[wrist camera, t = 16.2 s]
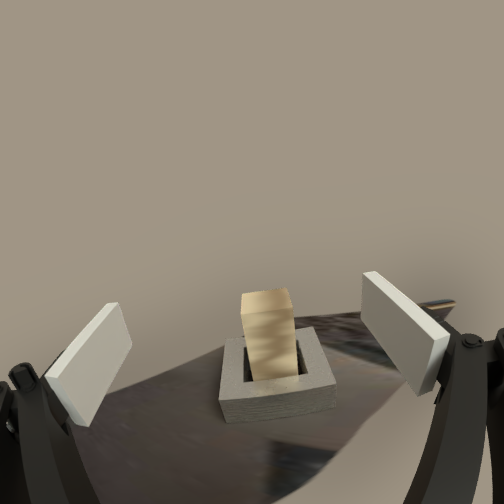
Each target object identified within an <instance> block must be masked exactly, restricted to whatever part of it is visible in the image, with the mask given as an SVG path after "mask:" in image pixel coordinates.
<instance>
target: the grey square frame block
mask: <svg viewBox="0 0 504 504" xmlns="http://www.w3.org/2000/svg"><path fill="white" fill-rule="evenodd" d="M295 339H296V352H297V363H300V366H301V370H302V375H296V376H290V377H284V378H277V379H270V380H262V381H254V382H248V370H251V367H250V361H249V356H248V351H247V346H246V340H245V337H239V338H230V339H226V341H225V349H224V358H223V366H222V375H221V384H220V393H219V403H220V406H221V409H222V412H223V415H224V418H225V421H226V423H239V422H251V421H261V420H270V419H277V418H284V417H291V416H297V415H303V414H309V413H314V412H319V411H324V410H328V409H333V408H335V401H336V385H337V383H336V381H335V378H334V376H333V374H332V371H331V369H330V366H329V364H328V361H327V359H326V357H325V354H324V352H323V350H322V347H321V345H320V342H319V340H318V338H317V335H316V333H315V331H314V328H313V327H308V328H302V329H296V330H295Z"/></svg>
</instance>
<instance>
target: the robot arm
mask: <svg viewBox="0 0 504 504" xmlns="http://www.w3.org/2000/svg"><path fill="white" fill-rule="evenodd" d="M362 279H363V281H362V304H361V305H362V306H361V320H362V321H363V322H364V324H365V325H366V326H367V328H368V329H369V330H370V332H371V333H372V334H373V336H374V337H375V338H376V340H377V341H378V342H379V344H380V345H381V346H382V348H383V349H384V350H385V352H386V353H387V355H388V356H389V357H390V359H391V360H392V361H393V363H394V364H395V366H396V367H397V368H398V370H399V371H400V373H401V374H402V375H403V377H404V378H405V380H406V381H407V382H408V384H409V385H410V387H411V388H412V389H413V391H414V392H415V394H416V395H417V396H421V395H423V394H425V393H428V392H430V391H432V390H433V388H434V385H435V382H436V380H438V382H439V383H440V384H441V387H440V390H439V392H438V394H437V397H436V399H435V402H434V404H436V407H435V412H434V416H433V420H432V424H431V428H430V431H429V435H428V438H427V442H426V445H425V448H424V451H423V454H422V457H421V460H420V463H419V466H418V468H417V471H416V474H415V477H414V479H413V481H412V484H411V486H410V489H409V491H408V493H407V496H406V498H405V500H404V502H403V504H472V501H473V497H474V494H475V490H476V486H477V481H478V477H479V472H480V467H481V461H482V455H483V448H484V440H485V431H486V426H487V432H488V438H489V446H490V454H491V466H492V482H493V483H492V484H493V504H504V328H502V329H500V330H499V331H498V333H497V336H496V339H495V340H492V341H485V342H484V340H483V339H482V338H481V337H479V336H477V335H474V334H462V335H461V334H460V333H459V332H458V331H456V330H455V329H454V328H453V327H452V326H450V325H449V324H448V323H447V322H446V321H444V319H442V318H441V317H439V315H438V314H436V313H435V312H434V311H433V310H431V309H428V308H426V307H424V306H422V307H418V306H417V305H416V304H415V303H414V302H413V301H411V300H410V299H409V298H408V297H406V296H405V295H404V294H403V293H402V292H400V291H399V290H398V289H397V288H396V287H394V286H393V285H392V284H391V283H389V282H388V281H387V280H386V279H384V278H383V277H382V276H381V275H379V274H378V273H377V272H376V271H373V272H367V273H363V277H362ZM132 345H133V343H132V340H131V338H130V335H129V332H128V329H127V326H126V324H125V321H124V318H123V315H122V312H121V309H120V305H119V303H107V304H106V305H105V307H103V308H102V309H101V311H100V312H99V313H98V314H97V315H96V316H95V317H94V318H93V319H92V320H91V322H90V323H89V324H88V325H87V326H86V327H85V328H84V329H83V330H82V332H81V333H80V334H79V335H78V336H77V337H76V338H75V340H74V341H73V342H72V343H71V344H70V345H69V347H68V348H67V349H65V350H64V351H62V352H61V354H60V355H59V356H58V357H57V359H55V361H54V362H53V364H52V365H50V367H49V368H48V369H47V370H46V371H45V373H44V374H43V375H42V377H41V378H40V379H39V378H38V376H37V375H36V373H35V371H34V369H33V367H32V365H31V364H30V363H20V364H18V365H16V366H15V367H14V368H12V369H11V371H10V372H9V375H8V376H9V378H10V379H11V381H12V383H13V384H14V386H15V387H16V389H17V390H11V389H10V387H9V385H8V384H7V382H5V381H1V382H0V504H100V502H99V500H98V498H97V496H96V494H95V492H94V489H93V487H92V485H91V483H90V481H89V478H88V476H87V473H86V471H85V469H84V466H83V463H82V461H81V458H80V455H79V453H78V450H77V447H76V444H75V441H74V438H73V435H72V432H71V428H70V425H69V424H68V422H67V421H66V419H67V417H68V416H70V417H71V419H72V420H73V421H74V423H75V424H77V425H82V426H87V427H89V425H90V423H91V421H92V419H93V417H94V415H95V414H96V412H97V410H98V408H99V406H100V404H101V402H102V400H103V398H104V396H105V394H106V392H107V390H108V388H109V386H110V385H111V383H112V381H113V379H114V377H115V375H116V374H117V372H118V370H119V368H120V366H121V365H122V363H123V361H124V359H125V357H126V356H127V354H128V352H129V350H130V349H131V347H132ZM6 422H8V424H9V425H10V426H11V427H12V432H10V431H9V430H8V428H7V427H6Z"/></svg>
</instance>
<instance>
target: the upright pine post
mask: <svg viewBox="0 0 504 504" xmlns="http://www.w3.org/2000/svg"><path fill="white" fill-rule="evenodd" d="M241 319H242V324H243V329H244V335H245V340H246V346H247V351H248V356H249V361H250V367H251V372H252V377H253V382H254V381H262V380H270V379H277V378H284V377H290V376H296V375H298V365H297V352H296V339H295V327H294V315H293V306H292V304H291V300H290V297H289V294H288V291H287V288H281V289H274V290H266V291H260V292H252V293H244V294H242V303H241Z"/></svg>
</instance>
